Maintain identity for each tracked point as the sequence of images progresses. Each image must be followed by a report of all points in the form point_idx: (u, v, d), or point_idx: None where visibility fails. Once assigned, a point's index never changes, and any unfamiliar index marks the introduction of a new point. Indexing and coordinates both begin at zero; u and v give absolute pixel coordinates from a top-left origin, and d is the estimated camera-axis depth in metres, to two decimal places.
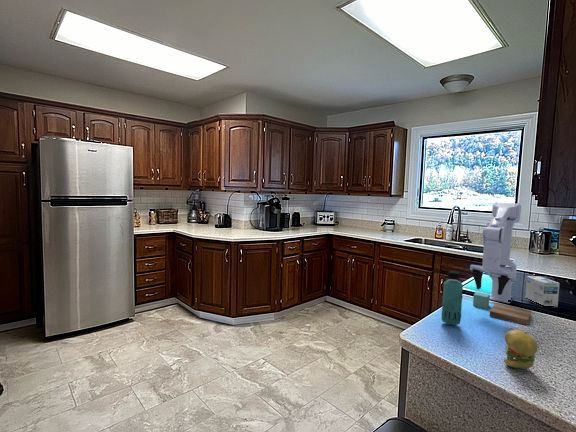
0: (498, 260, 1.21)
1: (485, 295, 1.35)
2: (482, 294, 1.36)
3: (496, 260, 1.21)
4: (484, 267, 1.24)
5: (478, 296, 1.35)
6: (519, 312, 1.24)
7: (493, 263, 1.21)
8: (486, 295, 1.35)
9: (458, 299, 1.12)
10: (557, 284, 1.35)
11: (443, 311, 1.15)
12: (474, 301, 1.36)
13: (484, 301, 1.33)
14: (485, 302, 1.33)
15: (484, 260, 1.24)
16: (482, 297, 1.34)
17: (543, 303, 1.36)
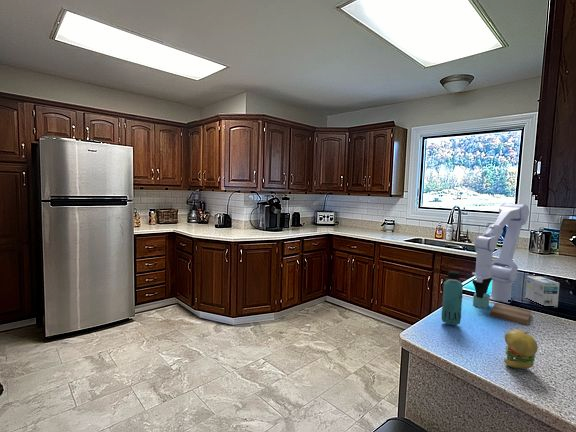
0: (480, 266, 1.33)
1: (485, 295, 1.35)
2: None
3: (478, 265, 1.34)
4: None
5: None
6: (519, 312, 1.24)
7: (476, 268, 1.35)
8: (486, 295, 1.35)
9: (458, 299, 1.12)
10: (557, 284, 1.35)
11: (443, 311, 1.15)
12: (474, 301, 1.36)
13: (484, 301, 1.33)
14: (485, 302, 1.33)
15: None
16: None
17: (543, 303, 1.36)
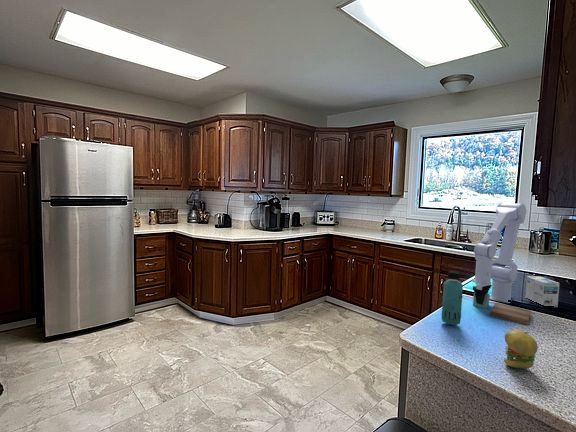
0: (479, 273, 1.34)
1: (485, 295, 1.35)
2: None
3: (477, 272, 1.34)
4: None
5: None
6: (519, 312, 1.24)
7: (476, 274, 1.36)
8: (486, 295, 1.35)
9: (458, 299, 1.12)
10: (557, 284, 1.35)
11: (443, 311, 1.15)
12: (474, 300, 1.36)
13: (484, 301, 1.33)
14: (485, 302, 1.33)
15: None
16: None
17: (543, 303, 1.36)
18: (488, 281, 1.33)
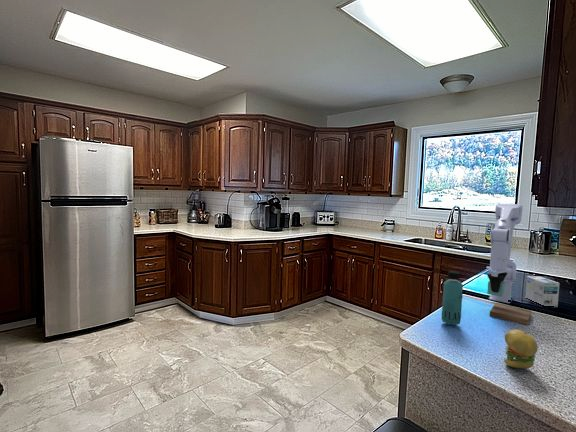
0: (495, 259, 1.28)
1: None
2: None
3: (493, 259, 1.28)
4: None
5: None
6: (519, 312, 1.24)
7: (491, 261, 1.29)
8: (501, 283, 1.29)
9: (458, 299, 1.12)
10: (557, 284, 1.35)
11: (443, 311, 1.15)
12: (489, 288, 1.30)
13: (499, 289, 1.27)
14: (500, 290, 1.27)
15: None
16: None
17: (543, 303, 1.36)
18: (504, 268, 1.27)
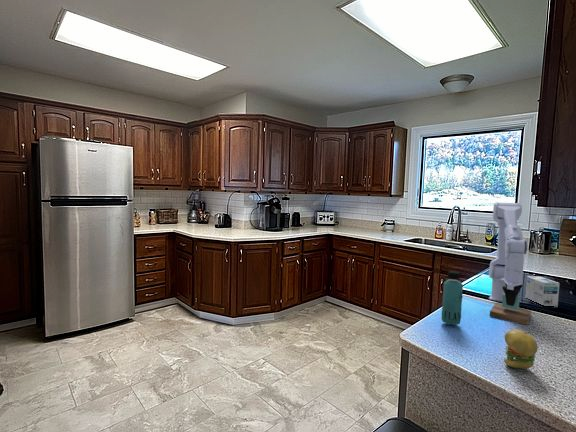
0: (510, 271, 1.22)
1: None
2: None
3: (508, 271, 1.23)
4: None
5: None
6: (519, 312, 1.24)
7: (505, 273, 1.24)
8: None
9: (458, 299, 1.12)
10: (557, 284, 1.35)
11: (443, 311, 1.15)
12: (504, 301, 1.24)
13: (515, 302, 1.22)
14: (516, 303, 1.22)
15: None
16: None
17: (543, 303, 1.36)
18: (520, 280, 1.21)
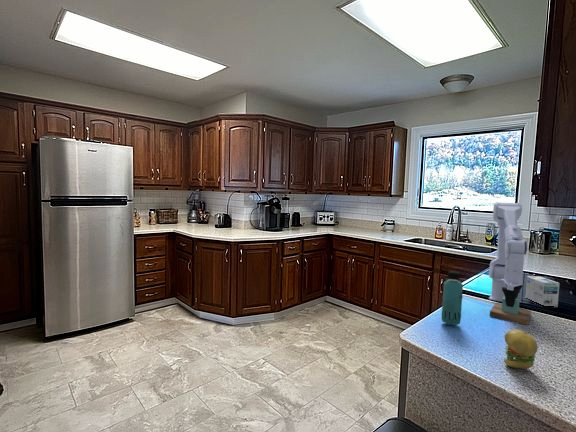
0: (510, 272, 1.22)
1: None
2: None
3: (508, 271, 1.23)
4: None
5: None
6: (519, 312, 1.24)
7: (505, 274, 1.24)
8: (516, 299, 1.24)
9: (458, 299, 1.12)
10: (557, 284, 1.35)
11: (443, 311, 1.15)
12: (503, 305, 1.25)
13: (514, 306, 1.22)
14: (515, 307, 1.22)
15: None
16: None
17: (543, 303, 1.36)
18: (520, 281, 1.21)
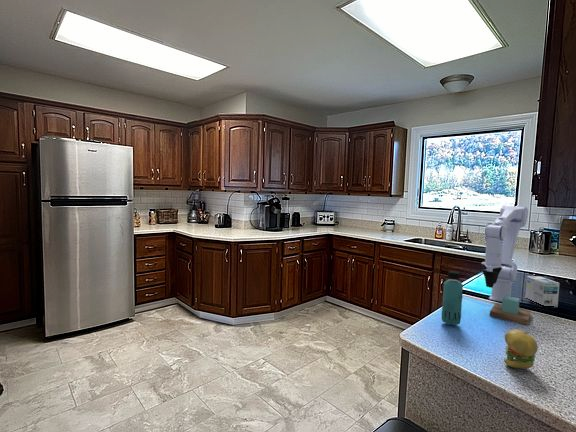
0: (490, 255, 1.32)
1: (515, 299, 1.24)
2: (511, 298, 1.25)
3: (488, 254, 1.32)
4: None
5: (507, 300, 1.24)
6: (519, 312, 1.24)
7: (486, 257, 1.34)
8: (516, 299, 1.24)
9: (458, 299, 1.12)
10: (557, 284, 1.35)
11: (443, 311, 1.15)
12: (503, 305, 1.25)
13: (514, 306, 1.22)
14: (515, 307, 1.22)
15: None
16: (512, 301, 1.23)
17: (543, 303, 1.36)
18: (498, 263, 1.31)
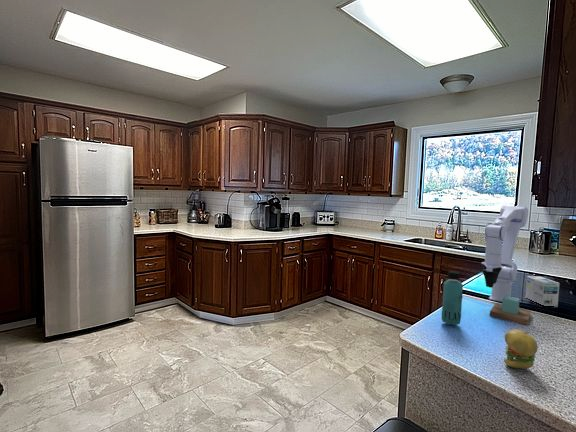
0: (490, 255, 1.32)
1: (515, 299, 1.24)
2: (511, 298, 1.25)
3: (488, 254, 1.33)
4: None
5: (507, 300, 1.24)
6: (519, 312, 1.24)
7: (486, 257, 1.34)
8: (516, 299, 1.24)
9: (458, 299, 1.12)
10: (557, 284, 1.35)
11: (443, 311, 1.15)
12: (503, 305, 1.25)
13: (514, 306, 1.22)
14: (515, 307, 1.22)
15: None
16: (512, 301, 1.23)
17: (543, 303, 1.36)
18: (498, 263, 1.31)
